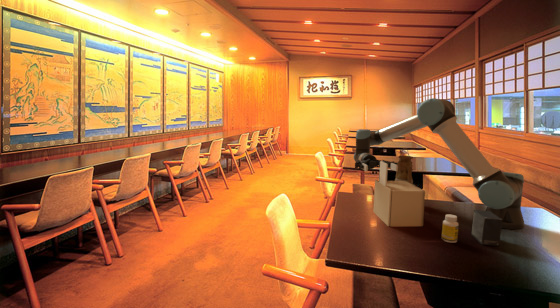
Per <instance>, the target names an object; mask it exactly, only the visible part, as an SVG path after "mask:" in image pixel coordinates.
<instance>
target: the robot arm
mask: <svg viewBox="0 0 560 308" xmlns="http://www.w3.org/2000/svg"><path fill="white" fill-rule="evenodd" d="M455 113H456V108H455V106H454V104H453V103H452V102H451V101H450V100H447V99H443V98H437V97H436V98H434V97H433V98H429V99H426V100H424V101H422V102H421V103H420V104H419V106H418V108H417V112H416V114H414V115H412V116H410V117H407V118H405V119H402V120H400V121H397V122H394V123H393V124H390V125H388V126H385V127H383V128H380V129H378V130H375V131H371V129H366V128H365V129H364V128H363V129H357V130H356V133H355V152H354V153H353V160H354V162H355V163H354V169H358V171H362V170H363V171H364V172H368V171H369V170H373V169H374V168H380V161H382V162H384V163H387V164H388V169H391V170H392V171H395V172H396V171H397V170H398V165H397V164H398V161H397V162H395V161H389V160H385V159H382V160H380V159H377V157H376V156H375V155H373V154H371V152H370V151H371V147H373V146H380V145H382V144H384V143H386V142H389V141H392V140H393V139H397V138H399V137H402V136H404V135H407V134H410V133H413V132H416V131H418V130H421V129H424V128H427V127H428V128H429V130H430V131H431V133H432V134H437V135H439V136H440V138H441V139H442V141H443V142H444V143H445V144H446V146H447V147H448V148H449V149H450V151H451V152H452V154H453V155H454V156H455V157H456V159H457V160H458V161H459V162H460V164H461V165H462V166H463V168H464V169H465V170H466V172H467V173H468V174H469V175H470V177H471V178H472V186H473V187H474V188H475V189H476V191H477V195H478V199H479V201H480V202H481V203H482V204H483V205H484V206H486V208H485V210H484V211H490V212H492V213H493V214H495V215H496V216H498V217H499V218H501V219H502V225H501V229H506V230H508V229H509V230H520V229H521V230H522V229H523V228H525V220H524V216H523V212H522V208H521V207H522V198H523V189H524V188H523V187H524V183H525V180H524V174H521V173H517V172H516V173H515V172H509V171H506V172H505V171H502V170H501V169H498V168H495V167H493V165H492V164H491V163H490V162H489V161H488V159H487V157H485V156H484V154H482V152H481V151H480V149H478V147H477V146H476V145H475V144H474V142H473V141H472V140H471V139H470V137H469V136H468V135H467V134H466V132H465V131H464V130H463V129H462V128H461V126H460V125H459V124H458V123H457V120H458V116H457V115H456V114H455Z"/></svg>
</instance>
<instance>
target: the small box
mask: <svg viewBox="0 0 560 308" xmlns="http://www.w3.org/2000/svg"><path fill="white" fill-rule="evenodd" d="M472 216H473V218H472V225H471V233H470V235H471V236H472V237H473V238H474V239H475V240H476V241H477V242H478V243H479V244H480V245H483V246H484V245H485V246H492V247H493V246H496V247H499V246H500V242H501V232H502V228H501V225H502V219H501V218H499V217H498V216H496V215H495V214H493V213H492V212H490V211H485V210H480V209H473V215H472Z"/></svg>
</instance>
